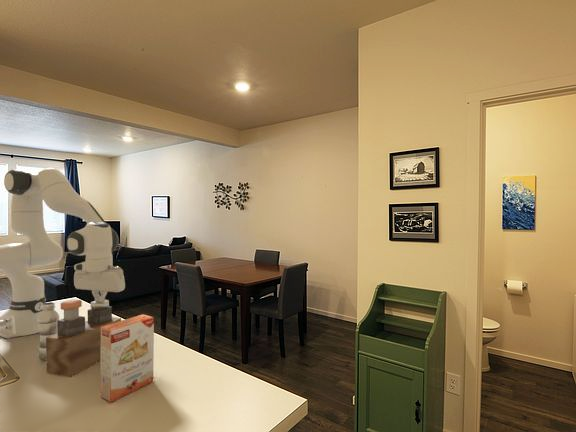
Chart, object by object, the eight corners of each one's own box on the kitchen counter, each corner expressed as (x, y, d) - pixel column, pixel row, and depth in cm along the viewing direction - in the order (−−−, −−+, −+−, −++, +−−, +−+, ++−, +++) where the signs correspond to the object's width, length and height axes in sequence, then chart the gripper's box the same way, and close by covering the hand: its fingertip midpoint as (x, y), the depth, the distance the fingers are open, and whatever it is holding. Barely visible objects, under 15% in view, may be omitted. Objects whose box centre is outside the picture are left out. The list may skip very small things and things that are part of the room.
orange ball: (56, 323, 110) (56, 304, 110) (72, 317, 116) (72, 299, 116) (70, 324, 109) (70, 305, 109) (86, 318, 115) (85, 300, 114)
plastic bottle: (49, 363, 116) (48, 307, 116) (33, 361, 117) (32, 305, 117) (64, 355, 122) (64, 301, 122) (49, 353, 124) (48, 300, 123)
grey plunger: (86, 320, 122) (86, 303, 122) (99, 315, 128) (99, 299, 128) (100, 322, 120) (99, 304, 120) (112, 317, 126) (112, 300, 126)
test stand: (46, 373, 109) (45, 322, 109) (100, 345, 131) (99, 303, 130) (70, 377, 107) (70, 325, 106) (121, 348, 128) (120, 305, 128)
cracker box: (111, 404, 92) (110, 330, 92) (99, 397, 96) (98, 326, 95) (155, 381, 104) (154, 316, 104) (143, 376, 108) (142, 313, 107)
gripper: (128, 265, 124) (129, 301, 124) (84, 262, 129) (85, 297, 130) (116, 268, 118) (116, 306, 118) (70, 265, 123) (70, 302, 123)
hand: (99, 301), depth 124 cm, fingers closed, pressing on grey plunger
